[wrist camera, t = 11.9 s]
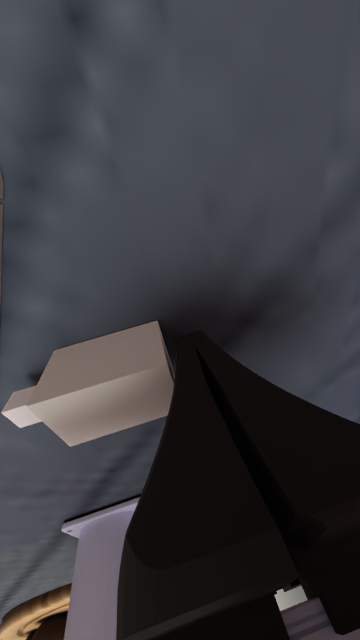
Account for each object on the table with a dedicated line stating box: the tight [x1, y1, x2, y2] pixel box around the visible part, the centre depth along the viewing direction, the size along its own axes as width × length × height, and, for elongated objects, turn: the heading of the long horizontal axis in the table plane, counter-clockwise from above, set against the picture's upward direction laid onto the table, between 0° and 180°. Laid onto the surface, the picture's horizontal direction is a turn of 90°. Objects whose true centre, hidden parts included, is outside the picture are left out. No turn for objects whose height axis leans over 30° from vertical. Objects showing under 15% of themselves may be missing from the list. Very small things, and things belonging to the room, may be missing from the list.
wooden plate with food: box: [0, 583, 72, 640], centre depth 37 cm, size 32×32×8 cm
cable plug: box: [1, 321, 175, 447], centre depth 9 cm, size 3×7×3 cm, turn 102°
